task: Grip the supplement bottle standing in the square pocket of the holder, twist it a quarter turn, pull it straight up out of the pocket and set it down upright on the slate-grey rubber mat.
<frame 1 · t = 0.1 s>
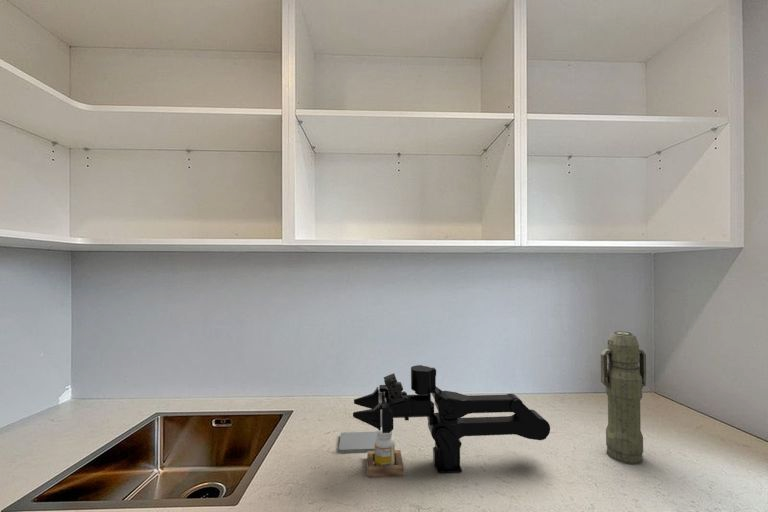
hand: (353, 407, 103), 17 cm above the table, tool horizontal, fingers open, 9 cm apart
thermos: (624, 457, 108), on the table
supplement bottle: (384, 467, 104), resting in holder
holder: (384, 466, 104), on the table
mat: (359, 443, 117), on the table
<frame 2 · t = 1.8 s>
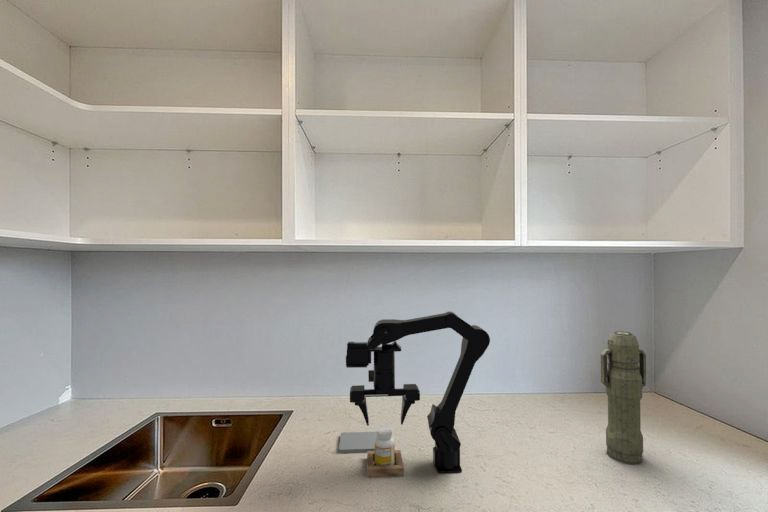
hand: (384, 424, 104), 11 cm above the table, tool pointing down, fingers open, 9 cm apart
nothing on the table moved.
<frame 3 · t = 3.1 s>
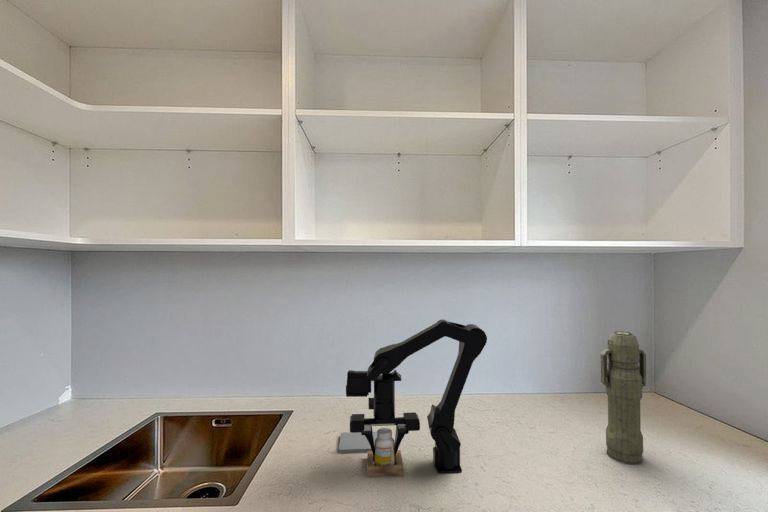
hand: (384, 453, 104), 4 cm above the table, tool pointing down, fingers closed on supplement bottle, 5 cm apart
supplement bottle: (384, 467, 104), resting in holder, touching gripper
everything else where it was.
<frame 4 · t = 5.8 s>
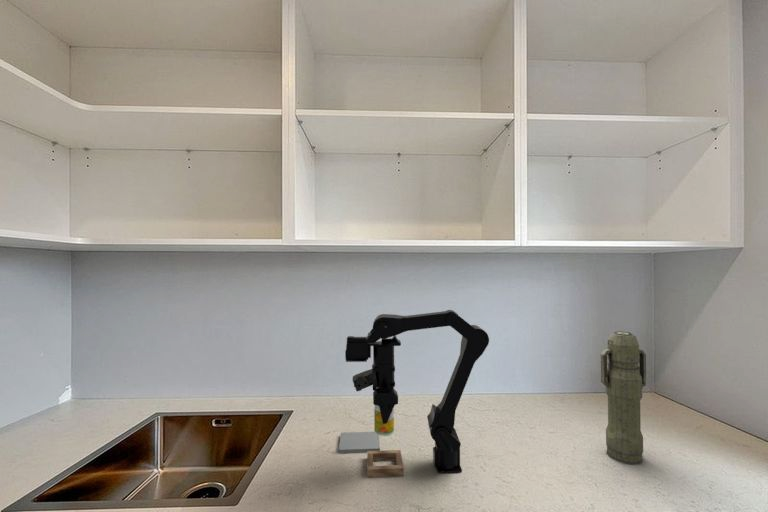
hand: (384, 418, 104), 13 cm above the table, tool pointing down, fingers closed on supplement bottle, 5 cm apart
supplement bottle: (384, 432, 104), point 9 cm above the table, touching gripper
everything else where it was.
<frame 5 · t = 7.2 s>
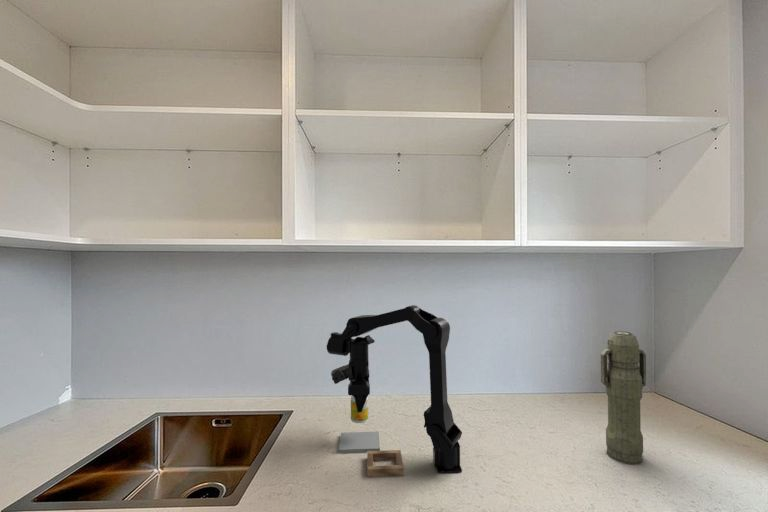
hand: (359, 408, 117), 11 cm above the table, tool pointing down, fingers closed on supplement bottle, 5 cm apart
supplement bottle: (359, 420, 117), point 7 cm above the table, touching gripper
everything else where it was.
when the fingers open (6 cm above the table, at t = 8.6 s): supplement bottle drops 1 cm, resting on mat.
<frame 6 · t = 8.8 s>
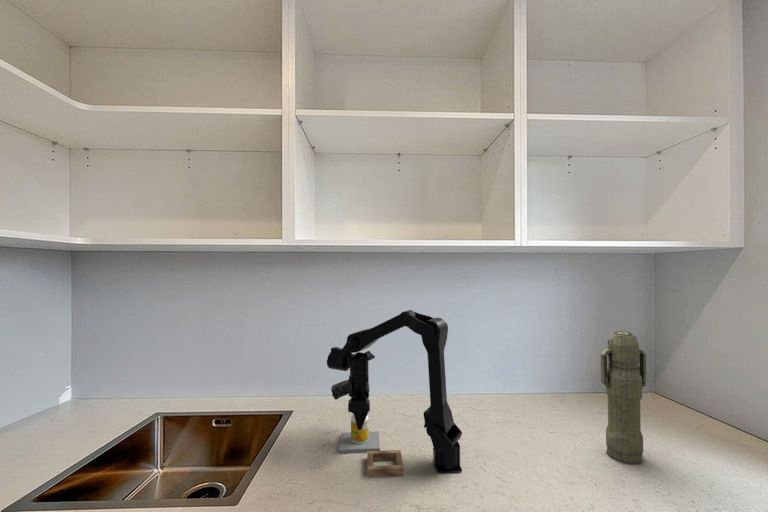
hand: (359, 423, 117), 6 cm above the table, tool pointing down, fingers open, 7 cm apart
supplement bottle: (359, 440, 117), point 1 cm above the table, touching mat
everything else where it was.
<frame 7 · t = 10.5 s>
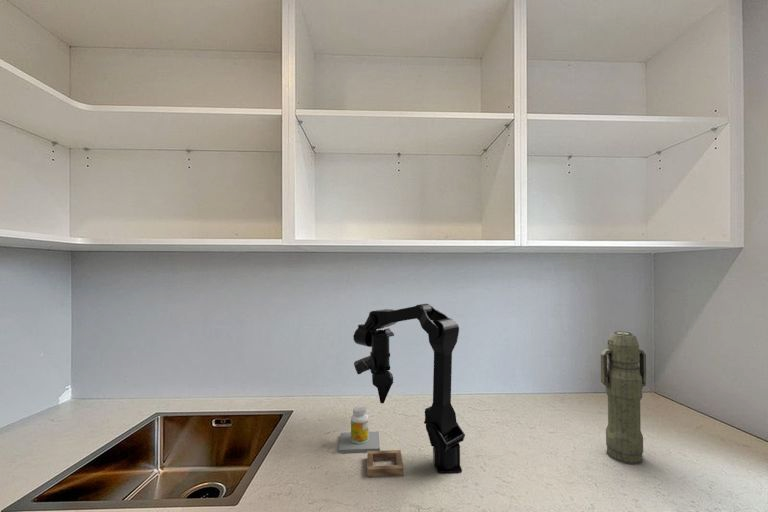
hand: (380, 397, 123), 12 cm above the table, tool pointing down, fingers open, 9 cm apart
nothing on the table moved.
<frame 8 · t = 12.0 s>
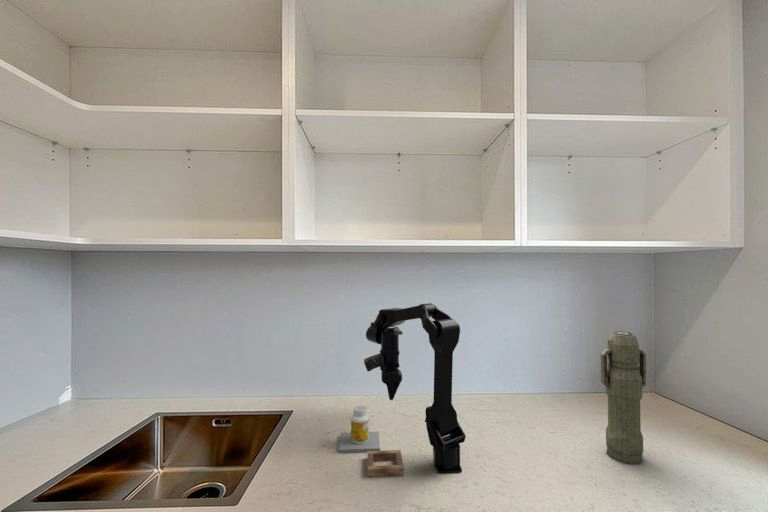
hand: (390, 394, 125), 12 cm above the table, tool pointing down, fingers open, 9 cm apart
nothing on the table moved.
at the end: supplement bottle inside the target area on the mat (0.0 cm from its centre), point 0.8 cm above the mat's base; supplement bottle tilted 1°; the gripper is holding nothing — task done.
